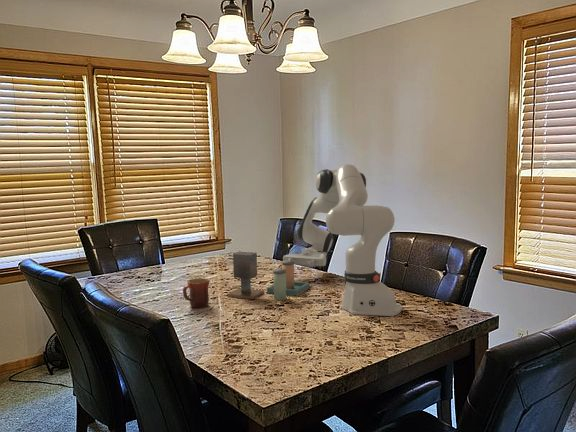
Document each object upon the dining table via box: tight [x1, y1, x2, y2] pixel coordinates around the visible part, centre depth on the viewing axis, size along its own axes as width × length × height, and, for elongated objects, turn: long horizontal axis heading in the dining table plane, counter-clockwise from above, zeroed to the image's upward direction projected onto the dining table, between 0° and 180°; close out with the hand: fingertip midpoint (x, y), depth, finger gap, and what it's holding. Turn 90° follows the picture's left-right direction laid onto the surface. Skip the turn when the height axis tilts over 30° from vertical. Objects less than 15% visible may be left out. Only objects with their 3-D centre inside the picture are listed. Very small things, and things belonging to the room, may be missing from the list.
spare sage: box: [272, 268, 287, 301], centre depth 197 cm, size 5×5×12 cm
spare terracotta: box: [281, 260, 295, 290], centre depth 210 cm, size 5×5×12 cm
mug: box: [182, 277, 211, 309], centre depth 188 cm, size 12×9×10 cm
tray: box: [266, 280, 310, 297], centre depth 210 cm, size 14×14×2 cm
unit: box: [227, 251, 265, 301], centre depth 203 cm, size 12×10×18 cm
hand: (298, 263), depth 220 cm, fingers open, 8 cm apart
